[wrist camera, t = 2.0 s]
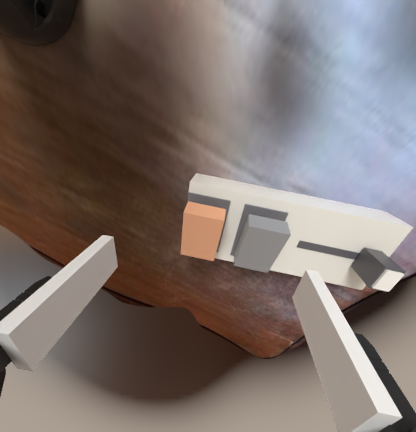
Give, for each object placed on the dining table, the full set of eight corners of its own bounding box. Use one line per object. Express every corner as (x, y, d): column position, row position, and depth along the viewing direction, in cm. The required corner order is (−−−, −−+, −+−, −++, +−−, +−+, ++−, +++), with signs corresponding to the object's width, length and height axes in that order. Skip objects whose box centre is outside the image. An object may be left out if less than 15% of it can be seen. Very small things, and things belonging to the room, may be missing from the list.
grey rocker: (234, 253, 29) (233, 265, 27) (248, 213, 23) (249, 226, 22) (265, 259, 28) (267, 273, 27) (287, 221, 23) (290, 234, 21)
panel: (187, 234, 35) (180, 251, 30) (196, 172, 29) (189, 182, 24) (345, 268, 34) (363, 291, 29) (384, 211, 28) (415, 228, 24)
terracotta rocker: (184, 242, 29) (180, 254, 27) (188, 201, 24) (183, 212, 22) (215, 248, 29) (213, 261, 27) (226, 209, 24) (224, 221, 22)
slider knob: (350, 266, 27) (370, 289, 23) (364, 247, 26) (387, 268, 22) (366, 269, 27) (388, 293, 23) (381, 251, 26) (407, 273, 22)
